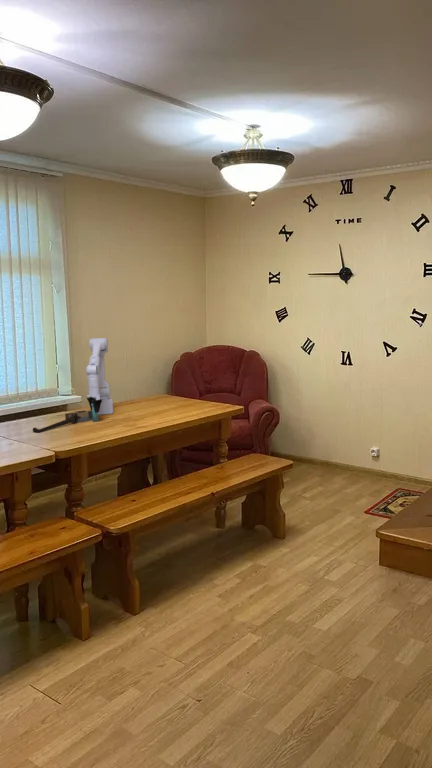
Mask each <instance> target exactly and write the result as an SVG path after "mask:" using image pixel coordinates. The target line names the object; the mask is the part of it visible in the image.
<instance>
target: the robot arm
mask: <svg viewBox="0 0 432 768" xmlns="http://www.w3.org/2000/svg"><path fill="white" fill-rule="evenodd" d="M88 344H89V349H90V350H91V352H92V353H91V355H90V357H89V360H88V365H87V366H86V369H85V372H86V377H87V378H86V379H87V383H88V385H87V386H88V394H86V400H87V402H88V405H89V407H90V411H92V406H91V404H92V403H93V406H94V411H95V413H97V412H98V416H101V415H108V414H110V415H111V414H114V407H113V406H114V404H113V399H112V397H111V386H110V384H109V383H108V382H107V381H106V375H105V374H106V373H105V372H106V370H105V369H106V368H105V367H106V366H105V363H106V362H105V356H106V353H108V351H109V341H108V338H107V337H97V338H96V337H95V338H94V337H93V338H92V337H90V339H89V343H88Z"/></svg>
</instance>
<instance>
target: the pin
mask: <svg viewBox="0 0 432 768" xmlns="http://www.w3.org/2000/svg"><path fill="white" fill-rule="evenodd" d="M91 406H92V410H91V411H92V415H93V420H92V422H93V423H97V422H99V415H98V412H97V413H95V411H94V406H93V403H92V404H91Z"/></svg>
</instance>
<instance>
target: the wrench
mask: <svg viewBox="0 0 432 768" xmlns="http://www.w3.org/2000/svg"><path fill="white" fill-rule="evenodd" d="M74 418H75V419H74ZM80 418H81V417H78V416H77V414H73V415H72V416H71V417H70V418H68V419H66V420H65V419H64V420H61V421H58V422H56V423H53V424H50V425H48V426H45V427H42V428H37V427H33V428H32V432H33V433H37V434H38V433H43V432H46V431H49V430H52V429H56V428H59V427H62V426H65V425H69V424H77V423H78V422H77V421H78V419H80Z"/></svg>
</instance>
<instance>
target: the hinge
mask: <svg viewBox="0 0 432 768" xmlns="http://www.w3.org/2000/svg"><path fill="white" fill-rule="evenodd" d="M73 414H77V416H78V417H81V418H80V419H78V421H77V423H83V422H89V421H93V415H92V410H77V411H74V412H66V413H64V417H65V418H64V420H66V419H68V418H70V417H71V416H72V415H73ZM74 419H75V418H74Z"/></svg>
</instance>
